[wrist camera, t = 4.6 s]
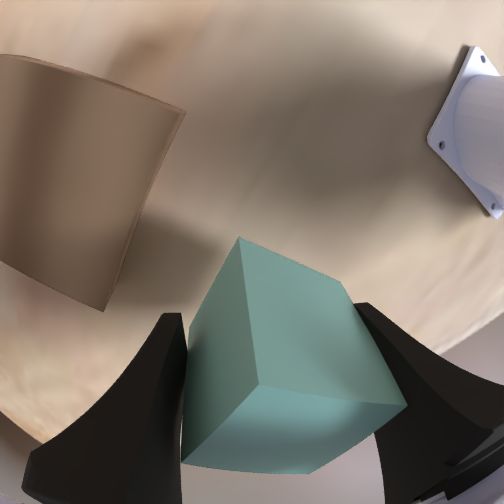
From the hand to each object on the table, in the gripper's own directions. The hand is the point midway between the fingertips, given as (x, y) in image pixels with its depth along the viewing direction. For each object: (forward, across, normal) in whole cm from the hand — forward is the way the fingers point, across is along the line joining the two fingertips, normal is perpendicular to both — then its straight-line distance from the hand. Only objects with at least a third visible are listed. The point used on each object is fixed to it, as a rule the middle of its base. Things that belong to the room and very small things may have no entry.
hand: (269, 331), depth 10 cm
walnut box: (+6, +10, -5) cm, 13 cm away
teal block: (+1, 0, 0) cm, 1 cm away
